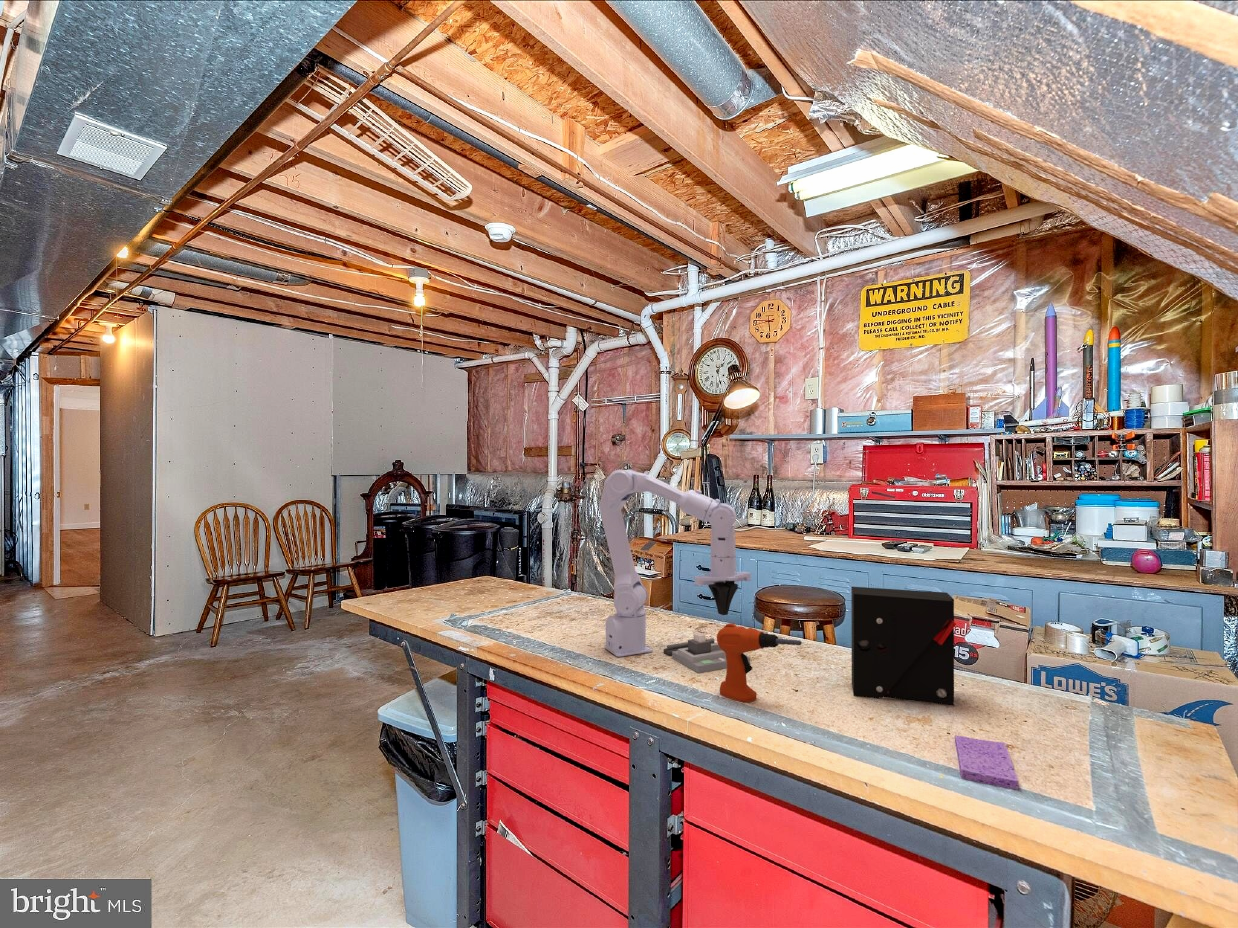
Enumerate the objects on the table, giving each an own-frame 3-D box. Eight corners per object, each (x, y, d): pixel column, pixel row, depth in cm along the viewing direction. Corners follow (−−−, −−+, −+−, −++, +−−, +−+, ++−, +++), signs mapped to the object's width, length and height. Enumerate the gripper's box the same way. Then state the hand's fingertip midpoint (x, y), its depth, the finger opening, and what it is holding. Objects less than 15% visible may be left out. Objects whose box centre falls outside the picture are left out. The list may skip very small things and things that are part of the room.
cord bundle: (669, 656, 136) (669, 646, 136) (663, 652, 138) (663, 643, 138) (718, 648, 142) (718, 639, 142) (712, 645, 144) (712, 636, 144)
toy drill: (804, 712, 102) (794, 629, 103) (715, 698, 113) (707, 624, 114) (814, 704, 105) (804, 624, 106) (727, 691, 117) (719, 620, 118)
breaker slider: (696, 659, 129) (696, 637, 129) (687, 654, 132) (687, 633, 132) (711, 656, 131) (710, 635, 131) (702, 652, 134) (702, 631, 134)
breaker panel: (698, 673, 125) (698, 660, 125) (672, 657, 135) (672, 646, 135) (750, 663, 131) (750, 651, 131) (721, 649, 141) (721, 638, 141)
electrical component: (945, 689, 116) (944, 590, 116) (956, 709, 106) (956, 601, 106) (851, 679, 122) (850, 584, 122) (853, 697, 112) (853, 594, 112)
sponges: (960, 781, 83) (960, 768, 83) (954, 743, 94) (954, 732, 94) (1019, 794, 80) (1019, 780, 80) (1005, 753, 91) (1005, 741, 91)
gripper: (706, 560, 128) (706, 621, 128) (758, 556, 134) (758, 614, 134) (689, 555, 134) (689, 614, 134) (740, 552, 140) (740, 607, 140)
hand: (722, 613), depth 134 cm, fingers closed
